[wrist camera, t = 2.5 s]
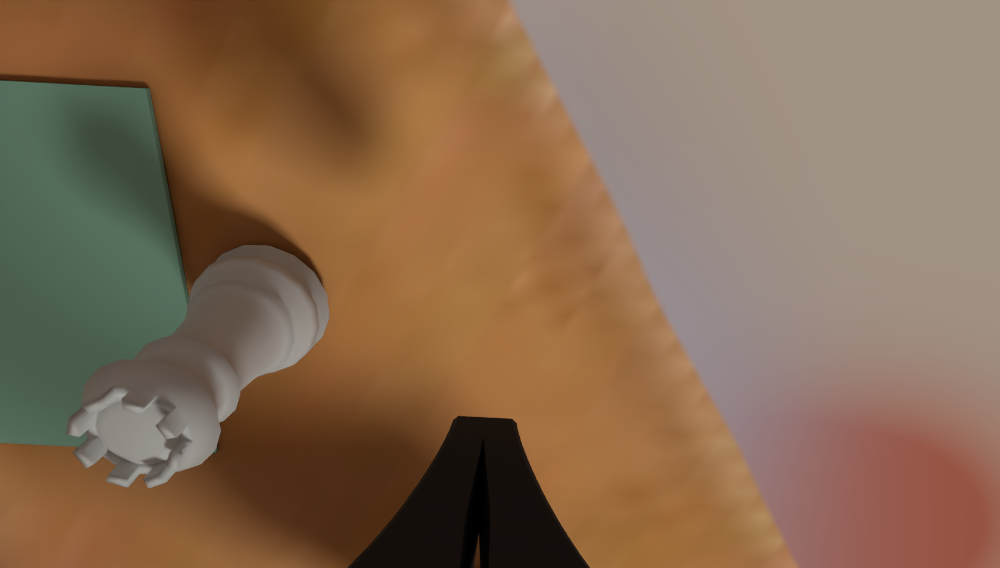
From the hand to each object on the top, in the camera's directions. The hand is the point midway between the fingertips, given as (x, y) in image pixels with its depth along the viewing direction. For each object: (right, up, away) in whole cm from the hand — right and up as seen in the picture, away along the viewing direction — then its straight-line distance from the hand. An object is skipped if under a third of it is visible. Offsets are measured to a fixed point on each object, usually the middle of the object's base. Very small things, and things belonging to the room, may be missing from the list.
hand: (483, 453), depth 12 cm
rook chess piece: (-8, +3, +7) cm, 11 cm away
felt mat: (-17, +4, +7) cm, 19 cm away
